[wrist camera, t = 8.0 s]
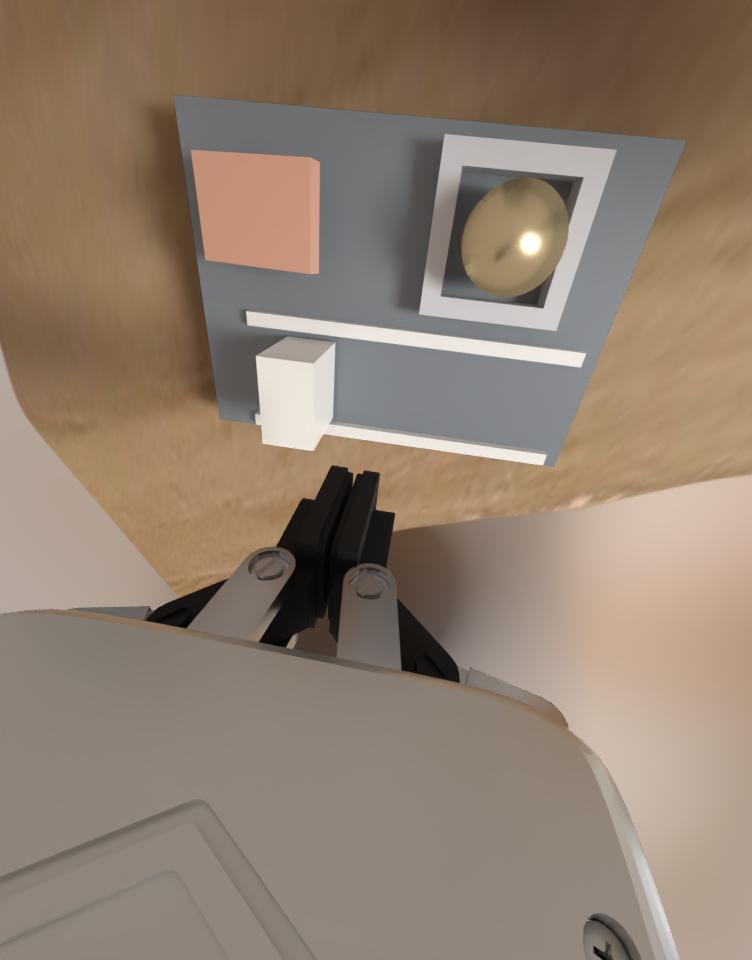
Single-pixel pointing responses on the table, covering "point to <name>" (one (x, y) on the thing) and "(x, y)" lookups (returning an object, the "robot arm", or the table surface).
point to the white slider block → (296, 391)
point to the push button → (514, 237)
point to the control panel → (429, 272)
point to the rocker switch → (259, 209)
